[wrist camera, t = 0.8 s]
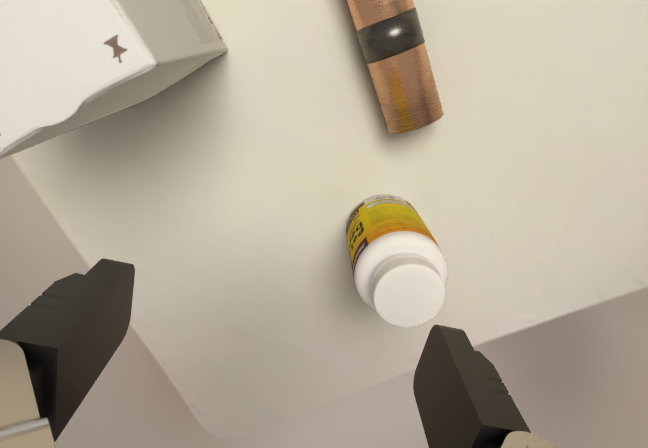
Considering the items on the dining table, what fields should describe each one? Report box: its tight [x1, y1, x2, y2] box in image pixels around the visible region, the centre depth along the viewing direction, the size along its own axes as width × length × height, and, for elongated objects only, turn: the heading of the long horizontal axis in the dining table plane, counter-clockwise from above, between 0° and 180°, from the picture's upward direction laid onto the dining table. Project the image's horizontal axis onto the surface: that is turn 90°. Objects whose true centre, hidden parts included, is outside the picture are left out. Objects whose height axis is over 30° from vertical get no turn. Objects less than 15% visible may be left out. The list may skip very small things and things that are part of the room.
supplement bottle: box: [346, 195, 448, 328], centre depth 29 cm, size 6×6×10 cm
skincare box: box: [0, 0, 227, 159], centre depth 22 cm, size 8×6×15 cm
